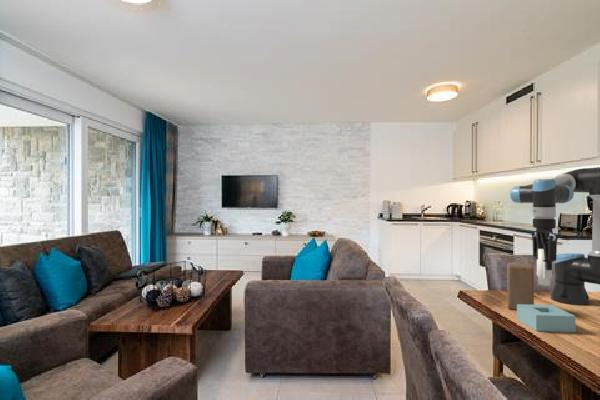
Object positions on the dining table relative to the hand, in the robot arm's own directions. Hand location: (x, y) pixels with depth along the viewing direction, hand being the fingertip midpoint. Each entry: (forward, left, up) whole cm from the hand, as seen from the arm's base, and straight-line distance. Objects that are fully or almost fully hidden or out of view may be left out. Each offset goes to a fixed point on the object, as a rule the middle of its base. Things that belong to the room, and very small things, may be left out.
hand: (544, 276), depth 139 cm
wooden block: (-2, -22, -19) cm, 30 cm away
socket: (0, 0, -19) cm, 19 cm away
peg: (0, 0, -3) cm, 3 cm away
